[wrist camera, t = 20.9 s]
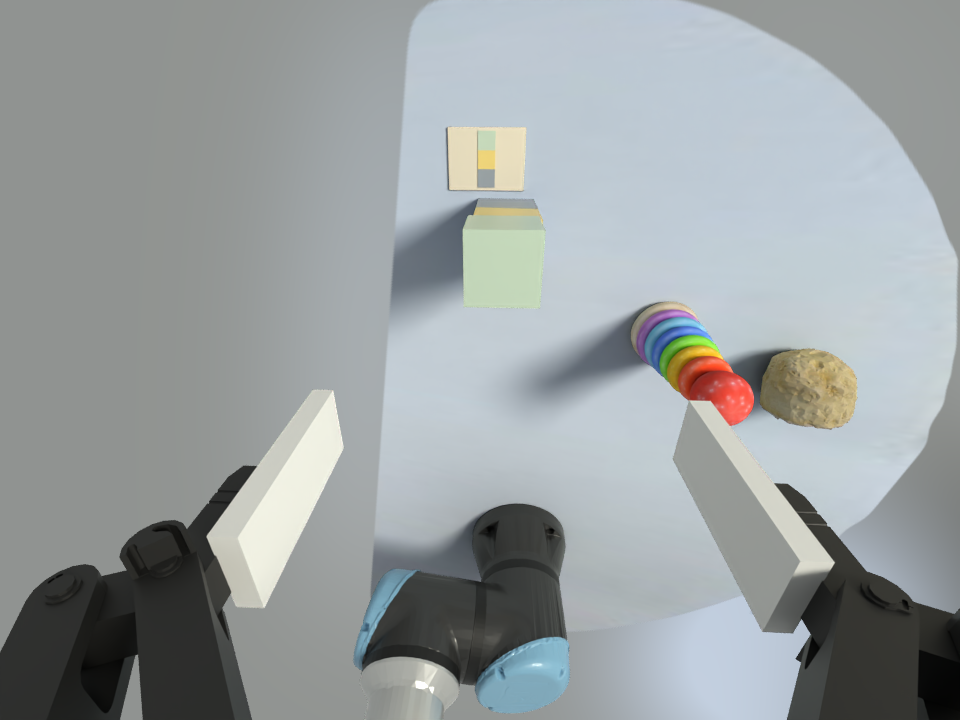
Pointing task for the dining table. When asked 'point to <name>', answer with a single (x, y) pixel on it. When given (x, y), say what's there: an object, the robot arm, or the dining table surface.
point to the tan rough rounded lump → (809, 389)
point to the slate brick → (507, 203)
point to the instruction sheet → (486, 158)
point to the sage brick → (503, 261)
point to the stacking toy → (690, 359)
